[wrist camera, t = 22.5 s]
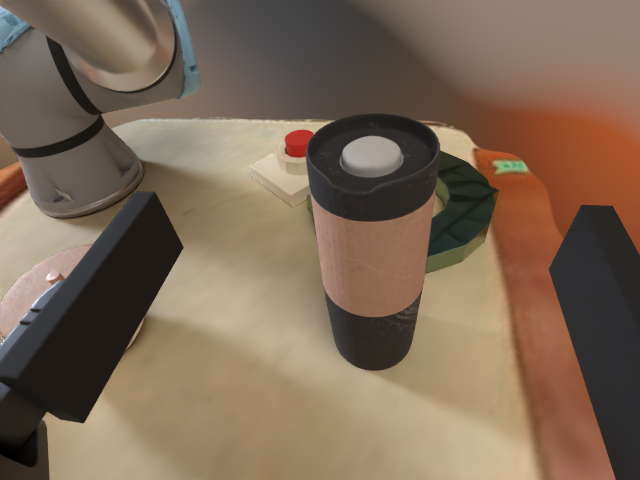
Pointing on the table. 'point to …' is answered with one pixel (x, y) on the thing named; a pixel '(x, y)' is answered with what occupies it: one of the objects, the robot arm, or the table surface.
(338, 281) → the travel mug
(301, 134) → the switch button
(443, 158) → the ring
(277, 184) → the switch box
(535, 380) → the table surface
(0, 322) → the trinket box
